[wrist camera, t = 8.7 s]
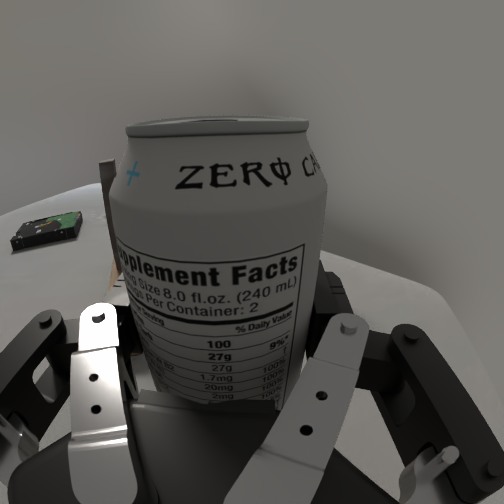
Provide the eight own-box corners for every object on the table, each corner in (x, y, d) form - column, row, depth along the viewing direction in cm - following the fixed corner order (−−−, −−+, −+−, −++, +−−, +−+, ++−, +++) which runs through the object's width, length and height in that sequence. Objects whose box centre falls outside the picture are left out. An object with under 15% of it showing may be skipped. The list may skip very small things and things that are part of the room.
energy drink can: (298, 404, 16) (340, 121, 9) (265, 492, 11) (313, 128, 4) (205, 378, 18) (182, 116, 11) (157, 451, 13) (56, 138, 6)
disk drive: (13, 254, 44) (78, 239, 49) (9, 241, 42) (75, 225, 48) (25, 234, 52) (83, 220, 57) (22, 222, 51) (81, 208, 56)
